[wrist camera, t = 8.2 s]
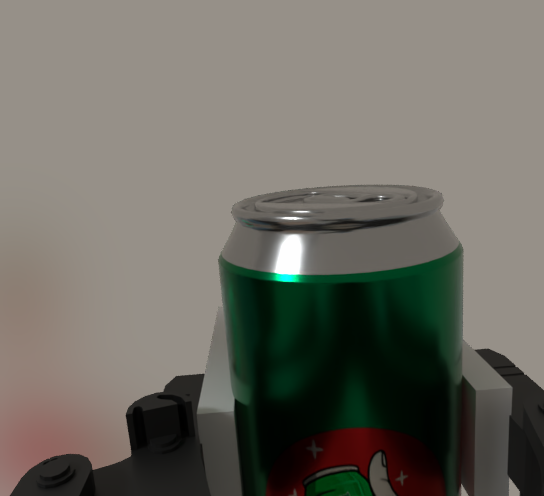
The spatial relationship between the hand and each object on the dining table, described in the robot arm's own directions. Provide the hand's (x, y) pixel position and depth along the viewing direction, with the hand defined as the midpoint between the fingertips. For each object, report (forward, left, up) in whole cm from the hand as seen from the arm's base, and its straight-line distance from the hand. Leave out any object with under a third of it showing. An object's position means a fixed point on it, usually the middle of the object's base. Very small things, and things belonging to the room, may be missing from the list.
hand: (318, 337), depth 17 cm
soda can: (0, -5, -7) cm, 9 cm away
